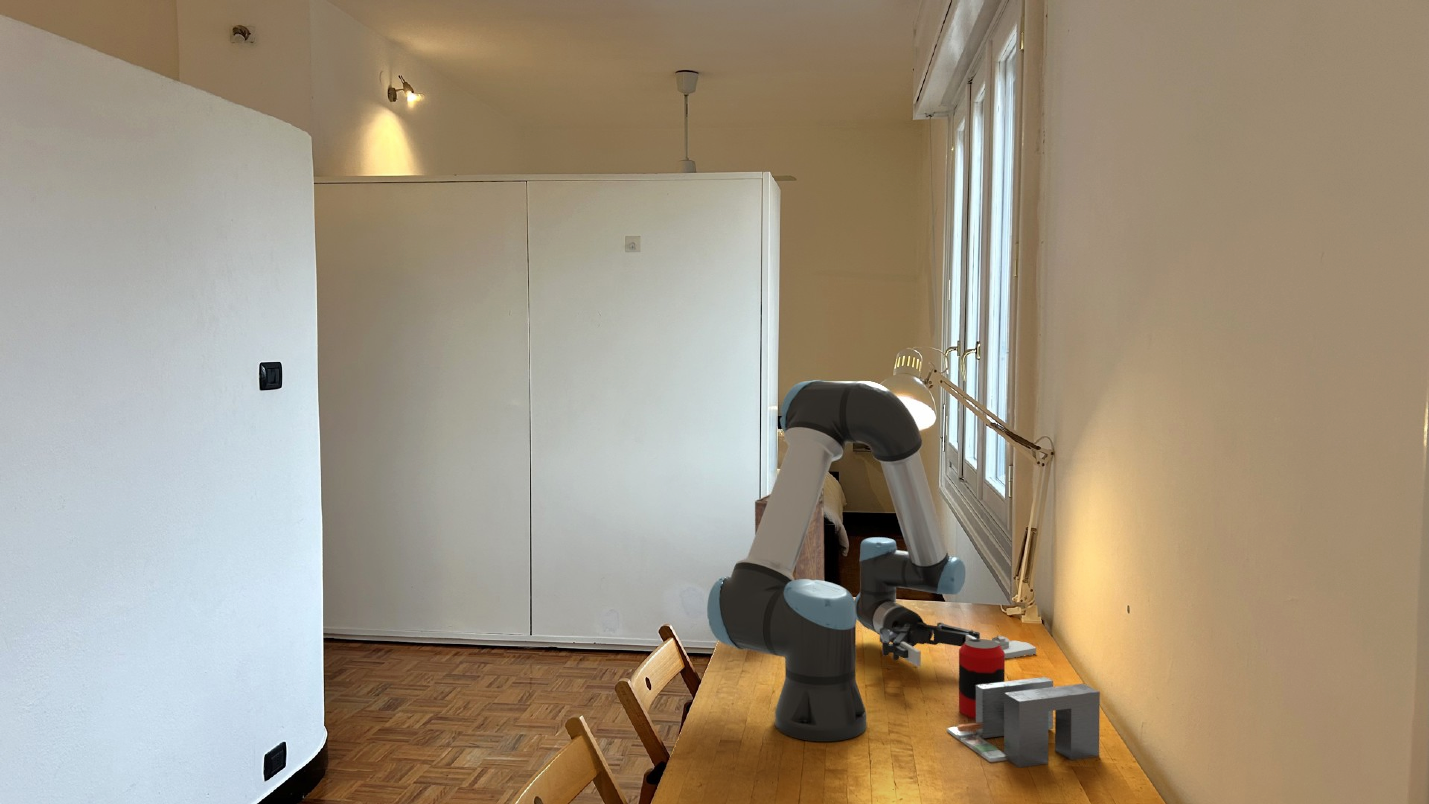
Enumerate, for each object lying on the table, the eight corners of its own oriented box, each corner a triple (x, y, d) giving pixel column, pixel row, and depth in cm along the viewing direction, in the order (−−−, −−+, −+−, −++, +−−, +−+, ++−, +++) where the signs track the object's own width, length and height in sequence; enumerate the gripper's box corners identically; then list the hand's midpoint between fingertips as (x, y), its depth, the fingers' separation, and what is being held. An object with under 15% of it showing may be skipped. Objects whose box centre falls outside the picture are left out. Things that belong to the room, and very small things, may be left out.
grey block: (979, 753, 155) (979, 701, 155) (955, 736, 162) (955, 687, 162) (1071, 740, 160) (1072, 690, 160) (1045, 724, 167) (1045, 676, 166)
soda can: (986, 702, 178) (986, 635, 178) (1013, 716, 171) (1014, 646, 171) (950, 708, 176) (950, 640, 175) (976, 723, 169) (976, 652, 168)
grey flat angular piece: (997, 642, 216) (997, 625, 216) (1043, 654, 208) (1043, 636, 207) (961, 653, 209) (961, 635, 209) (1007, 666, 200) (1007, 647, 200)
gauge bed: (1001, 770, 150) (1001, 703, 149) (947, 731, 165) (947, 671, 164) (1099, 756, 154) (1099, 691, 154) (1037, 719, 170) (1037, 661, 169)
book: (787, 609, 244) (786, 485, 243) (824, 612, 241) (824, 487, 239) (755, 637, 220) (754, 500, 219) (796, 641, 217) (795, 502, 216)
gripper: (954, 637, 206) (1013, 668, 186) (841, 649, 199) (890, 683, 179) (954, 601, 206) (1013, 628, 186) (841, 611, 199) (889, 641, 179)
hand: (953, 655), depth 182 cm, fingers open, 13 cm apart
